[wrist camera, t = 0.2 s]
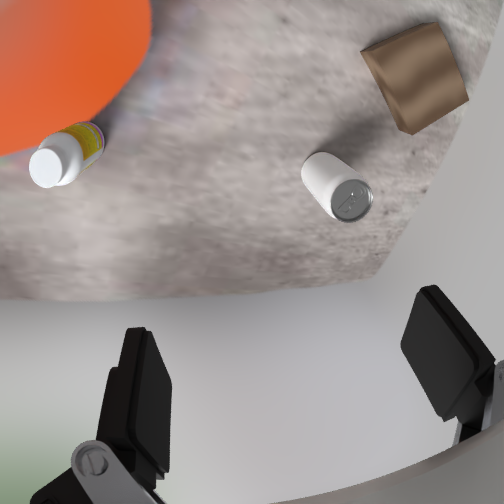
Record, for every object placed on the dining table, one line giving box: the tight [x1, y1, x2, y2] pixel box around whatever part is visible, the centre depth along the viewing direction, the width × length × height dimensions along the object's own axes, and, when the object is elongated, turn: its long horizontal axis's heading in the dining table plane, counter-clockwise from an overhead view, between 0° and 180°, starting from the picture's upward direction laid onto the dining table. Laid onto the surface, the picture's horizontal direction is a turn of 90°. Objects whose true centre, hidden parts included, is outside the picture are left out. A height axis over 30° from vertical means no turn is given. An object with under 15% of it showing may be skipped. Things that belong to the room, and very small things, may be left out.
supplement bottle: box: [29, 122, 104, 188], centre depth 33 cm, size 7×7×13 cm
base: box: [360, 22, 469, 135], centre depth 37 cm, size 14×14×4 cm
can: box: [301, 152, 373, 223], centre depth 41 cm, size 6×6×12 cm
